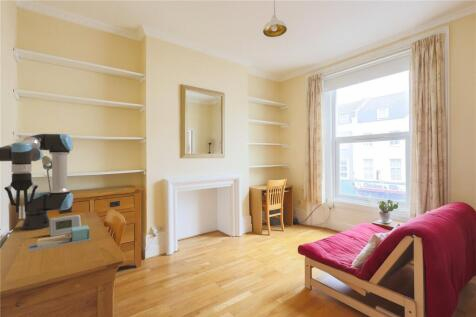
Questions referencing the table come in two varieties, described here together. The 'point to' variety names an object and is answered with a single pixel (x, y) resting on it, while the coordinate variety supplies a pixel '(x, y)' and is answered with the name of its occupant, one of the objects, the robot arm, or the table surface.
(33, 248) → the mat
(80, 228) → the end cap
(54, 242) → the slat
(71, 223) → the digital clock
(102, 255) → the table surface
